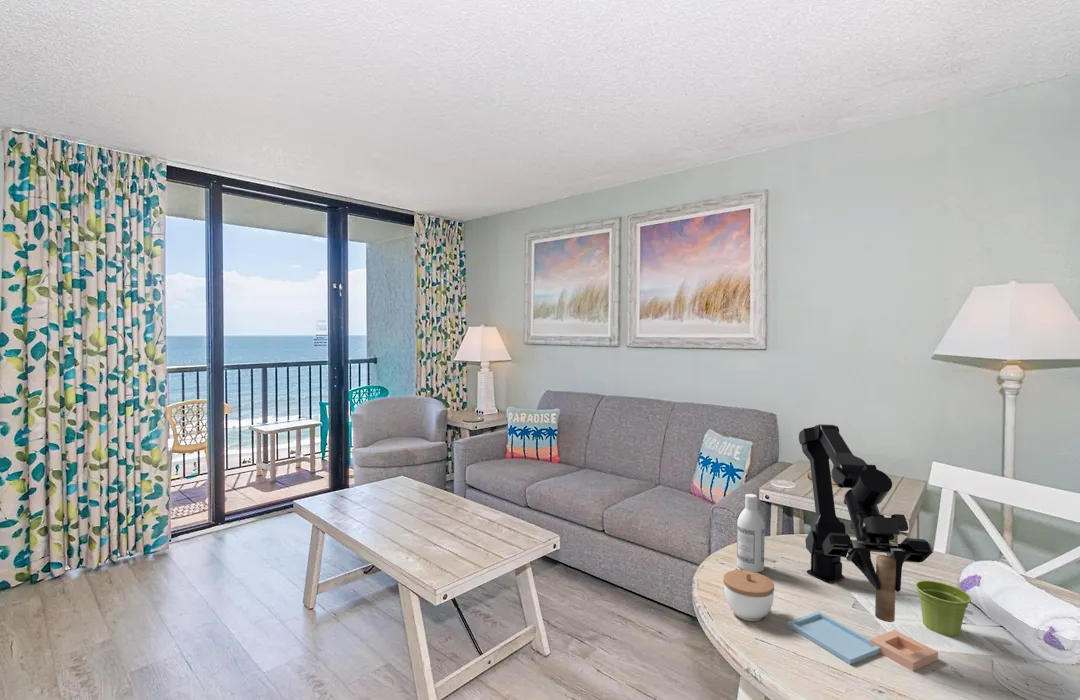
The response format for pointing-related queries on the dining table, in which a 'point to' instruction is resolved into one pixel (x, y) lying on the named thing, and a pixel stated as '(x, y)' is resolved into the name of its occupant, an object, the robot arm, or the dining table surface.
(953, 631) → the plant pot
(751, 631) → the dining table surface
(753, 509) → the bath foam
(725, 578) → the lidded jar
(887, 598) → the peg
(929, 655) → the holder
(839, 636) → the tray
